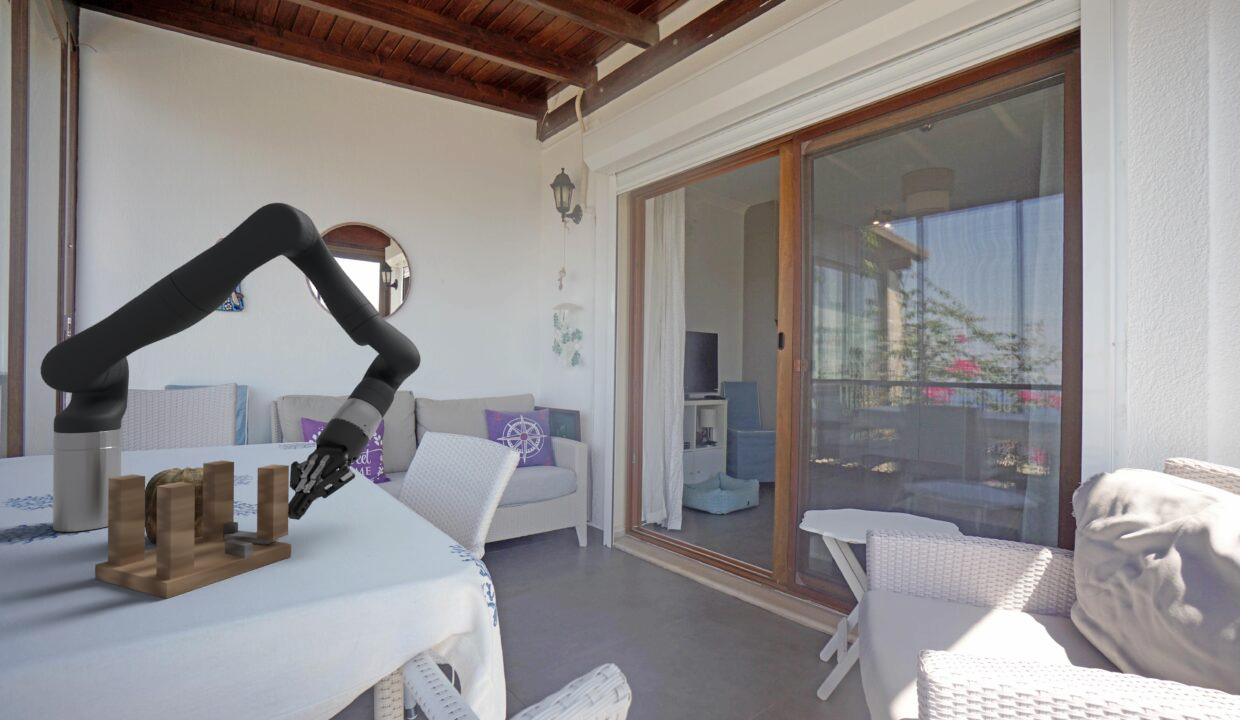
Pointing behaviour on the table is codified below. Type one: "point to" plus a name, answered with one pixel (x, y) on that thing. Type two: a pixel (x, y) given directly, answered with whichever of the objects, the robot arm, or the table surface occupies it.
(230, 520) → the wooden peg stand
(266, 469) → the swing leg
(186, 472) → the shell
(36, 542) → the table surface
